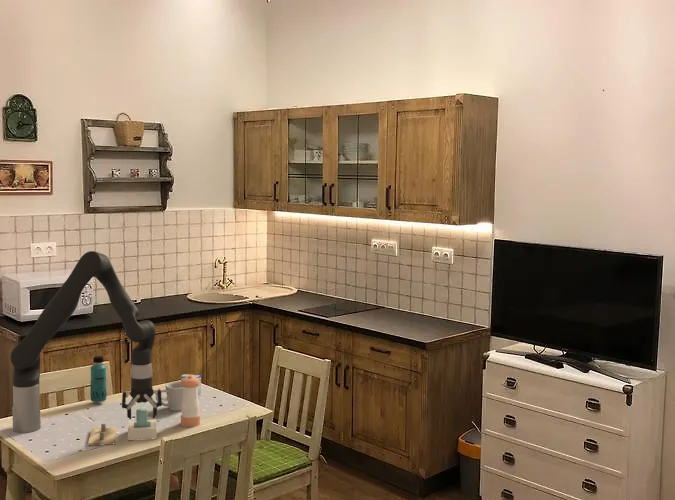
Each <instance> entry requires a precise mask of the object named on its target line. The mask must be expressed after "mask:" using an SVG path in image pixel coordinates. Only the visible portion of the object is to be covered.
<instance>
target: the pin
mask: <svg viewBox="0 0 675 500" xmlns="http://www.w3.org/2000/svg"><path fill="white" fill-rule="evenodd" d="M135 412H136V417H135V419H136V420H135V421H136V428H142V427H148V420H149V418H148V409H147V408H138V409H136V411H135Z"/></svg>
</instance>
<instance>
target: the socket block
mask: <svg viewBox="0 0 675 500" xmlns="http://www.w3.org/2000/svg"><path fill="white" fill-rule="evenodd" d="M127 422H128V425H127V426H128V427H127V441H128V440H134V441H138V440H137V439H149V440H153V439H152V438H156V439H157V419H156V418H154V419H153V418H152V419H148V427H142V428H136V420H129V421H127Z"/></svg>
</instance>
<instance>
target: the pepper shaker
mask: <svg viewBox="0 0 675 500" xmlns="http://www.w3.org/2000/svg"><path fill="white" fill-rule="evenodd" d="M191 375H192V374H190V376H188V377H186V378H184V379H183V380H182V381H181V380H180V381H181V385H182V386H183V401H182V411H181V415H180V425H181V426H182V427H185V428H192V427H193V428H194V427H198V426H200V424H201V415H200V403H199V396H198V385H199V383H200V382H199V379H198V378H196V377H192V376H191Z"/></svg>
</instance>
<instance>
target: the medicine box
mask: <svg viewBox="0 0 675 500" xmlns="http://www.w3.org/2000/svg"><path fill="white" fill-rule="evenodd" d="M190 375H191V376H192V377H196V378H198V379H199V382H200V383H199V385H198V397H199V396H200V395H201V393H202V375H201V374H188V373H184V374H182V375H180V381H182V380H183V379H184V378H186V377H188V376H190Z"/></svg>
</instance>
